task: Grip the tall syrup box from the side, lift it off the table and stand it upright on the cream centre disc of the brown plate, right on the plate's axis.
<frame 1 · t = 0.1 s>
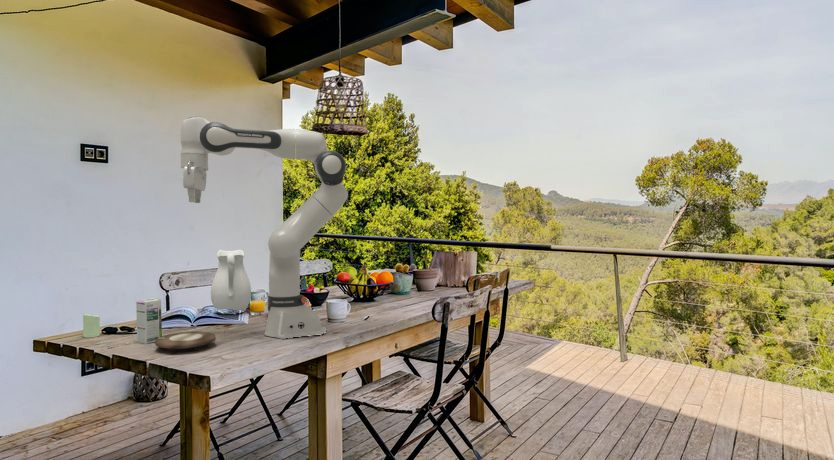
hand: (194, 202, 179), 48 cm above the table, tool pointing down, fingers open, 8 cm apart
candle: (91, 336, 181), on the table
brown plate: (186, 339, 166), point 3 cm above the table, hinge at 0.0°
syrup box: (149, 341, 174), on the table
pitcher: (230, 314, 223), on the table
turntable base: (186, 347, 166), on the table
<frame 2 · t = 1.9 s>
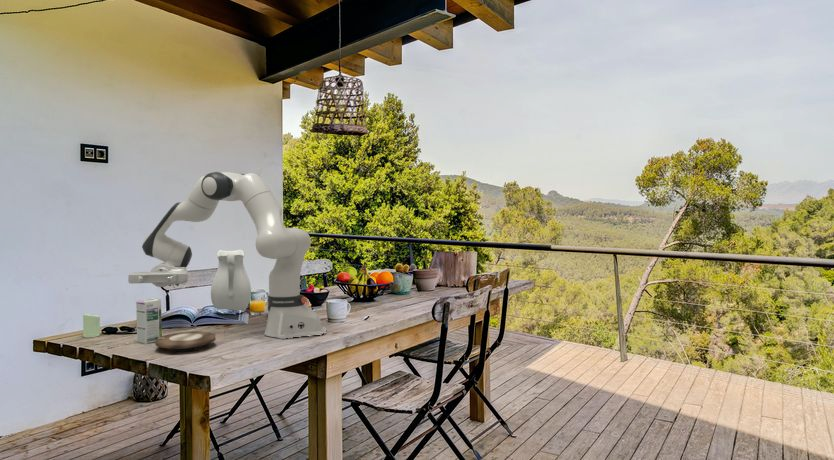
hand: (155, 279, 185), 20 cm above the table, tool horizontal, fingers open, 8 cm apart
nothing on the table moved.
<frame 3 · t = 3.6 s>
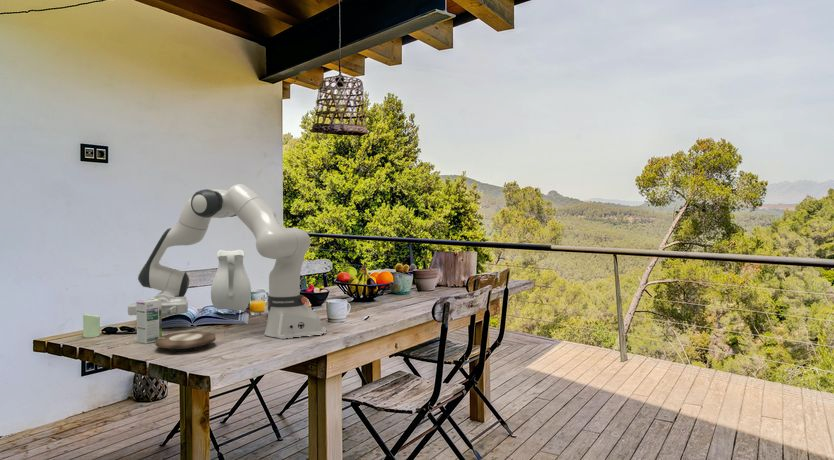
hand: (155, 311, 183), 8 cm above the table, tool horizontal, fingers open, 8 cm apart
nothing on the table moved.
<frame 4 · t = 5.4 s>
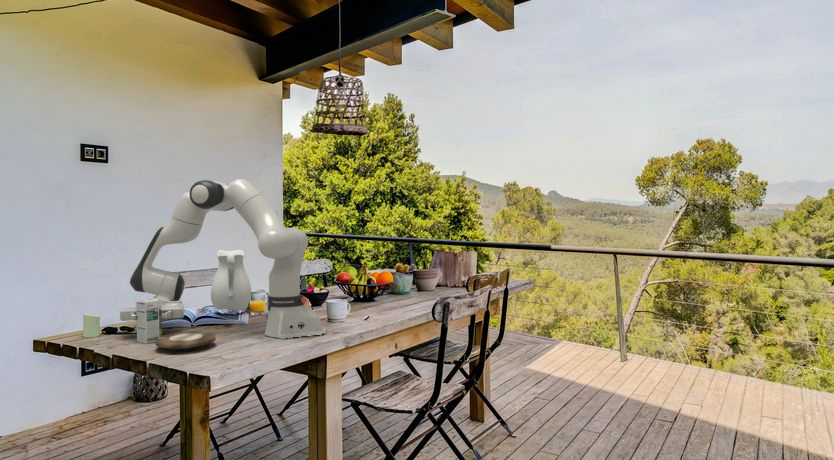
hand: (148, 317, 173), 8 cm above the table, tool horizontal, fingers open, 8 cm apart
syrup box: (149, 341, 174), on the table, touching gripper
everything else where it was.
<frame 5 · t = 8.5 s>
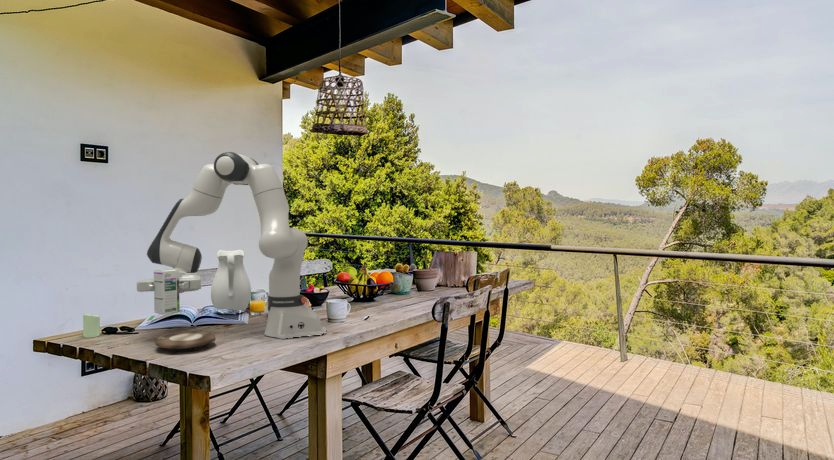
hand: (166, 287, 169), 19 cm above the table, tool horizontal, fingers closed on syrup box, 8 cm apart
syrup box: (166, 313, 170), point 10 cm above the table, touching gripper
everything else where it was.
when the fingers open (13 cm above the table, at t = 11.4 s): syrup box drops 1 cm, resting on brown plate.
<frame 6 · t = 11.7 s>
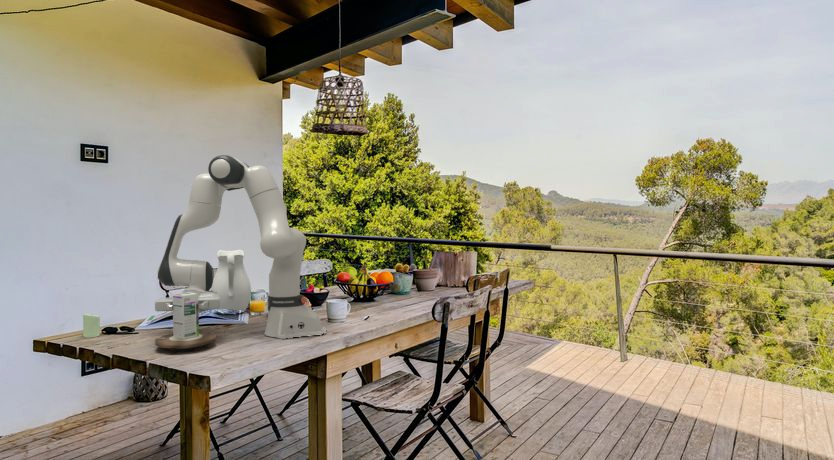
hand: (185, 307, 165), 13 cm above the table, tool horizontal, fingers open, 8 cm apart
brown plate: (186, 339, 166), point 3 cm above the table, hinge at 0.0°, touching syrup box
syrup box: (186, 337, 166), point 3 cm above the table, touching brown plate
everything else where it was.
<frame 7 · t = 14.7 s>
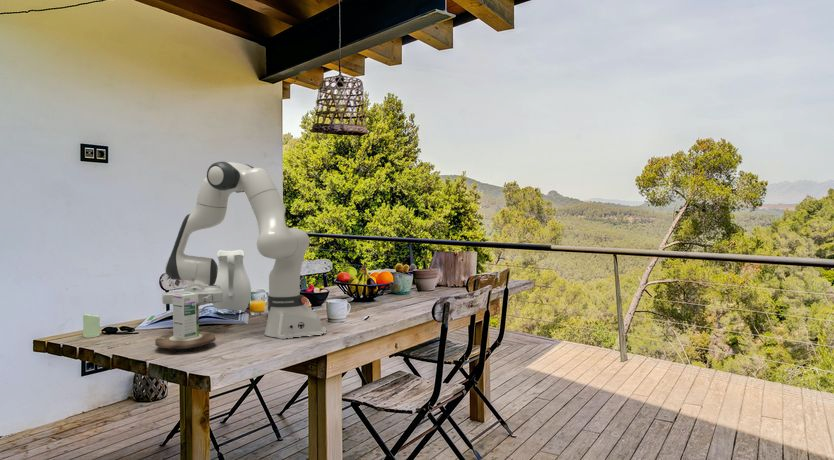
hand: (191, 300, 178), 14 cm above the table, tool horizontal, fingers open, 8 cm apart
nothing on the table moved.
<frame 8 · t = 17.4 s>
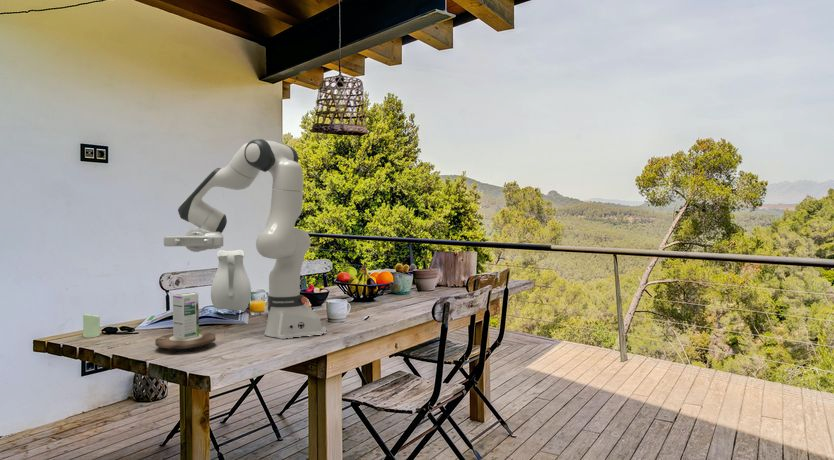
hand: (192, 242, 180), 34 cm above the table, tool horizontal, fingers open, 8 cm apart
nothing on the table moved.
at the end: syrup box 0.0 cm from the brown plate (horizontally); syrup box point 3.2 cm above the table; syrup box tilted 0° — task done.
